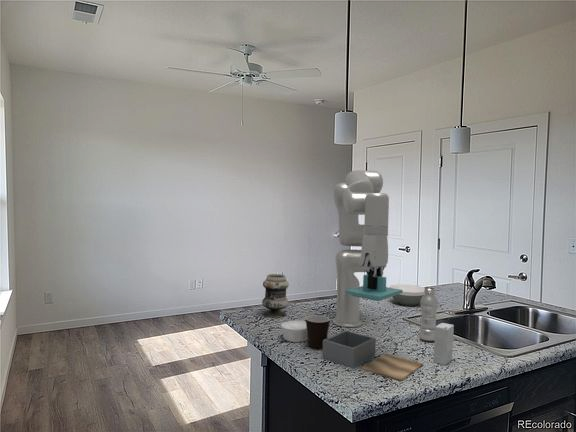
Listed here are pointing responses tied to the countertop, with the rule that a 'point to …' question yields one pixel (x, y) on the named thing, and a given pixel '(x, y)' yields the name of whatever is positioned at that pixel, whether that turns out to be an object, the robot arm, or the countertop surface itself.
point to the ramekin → (294, 331)
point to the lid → (372, 294)
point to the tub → (349, 348)
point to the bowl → (409, 294)
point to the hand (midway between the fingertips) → (374, 287)
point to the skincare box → (443, 343)
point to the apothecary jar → (275, 295)
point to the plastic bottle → (428, 315)
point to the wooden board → (393, 367)
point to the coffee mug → (317, 331)
